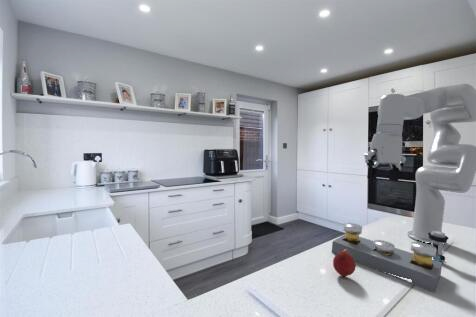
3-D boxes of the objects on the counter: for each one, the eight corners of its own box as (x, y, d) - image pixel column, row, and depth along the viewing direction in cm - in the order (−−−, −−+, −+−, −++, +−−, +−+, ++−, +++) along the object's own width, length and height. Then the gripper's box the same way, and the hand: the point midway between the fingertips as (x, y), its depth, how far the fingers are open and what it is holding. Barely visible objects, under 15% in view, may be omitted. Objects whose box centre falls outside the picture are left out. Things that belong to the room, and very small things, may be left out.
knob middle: (375, 255, 80) (376, 238, 79) (394, 262, 76) (396, 244, 75) (369, 260, 76) (371, 242, 75) (390, 268, 72) (392, 249, 71)
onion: (344, 284, 62) (347, 256, 62) (327, 273, 68) (330, 246, 67) (358, 279, 65) (361, 252, 65) (341, 269, 70) (343, 243, 70)
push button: (453, 267, 75) (456, 238, 75) (436, 266, 76) (439, 236, 75) (436, 257, 82) (440, 230, 81) (421, 256, 82) (424, 229, 82)
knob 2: (411, 258, 72) (413, 240, 72) (435, 266, 68) (437, 246, 68) (407, 264, 68) (409, 244, 68) (432, 273, 64) (435, 252, 64)
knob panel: (346, 242, 90) (347, 232, 90) (440, 275, 70) (442, 262, 70) (331, 252, 81) (332, 241, 81) (434, 292, 61) (436, 278, 61)
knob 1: (346, 237, 87) (347, 221, 86) (362, 242, 83) (364, 226, 82) (339, 241, 83) (341, 224, 83) (356, 247, 79) (358, 229, 78)
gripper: (398, 134, 86) (392, 179, 86) (360, 128, 81) (354, 176, 82) (418, 133, 78) (411, 183, 79) (378, 127, 74) (371, 180, 75)
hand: (382, 179), depth 80 cm, fingers open, 9 cm apart
